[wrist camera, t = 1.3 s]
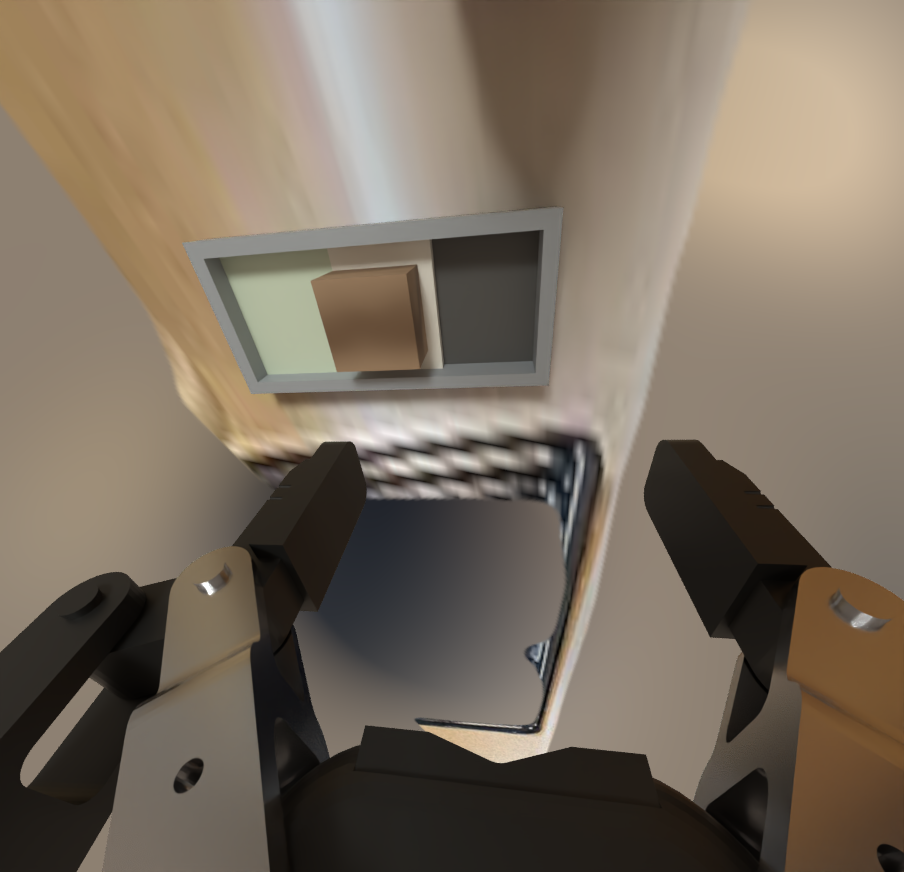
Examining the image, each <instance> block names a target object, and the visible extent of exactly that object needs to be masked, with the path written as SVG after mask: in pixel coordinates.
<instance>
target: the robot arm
mask: <svg viewBox="0 0 904 872" xmlns="http://www.w3.org/2000/svg"><path fill="white" fill-rule="evenodd" d="M366 494H367V489H366V482H365V478H364V475H363V472H362V468H361V465H360V461H359V458H358V454H357V451H356V447H355V445H354V444H353V443H352V442H323V443H322V444H321V445H320V447H319V448H318V449H317V451H316V452H315V454H314V455H313V456H312V458H311V459H310V460H305V461H303V462H302V463H300V464H299V465H298V466H296V467H295V468H294V469H292V470H291V471H290V472H289V473H288V474H287V476H286V477H285V478H284V479H283V481H282V482H281V483H280V485H279V488H277V489H276V490H275V491H274V493H273V494H272V495H271V496H270V500H267V501H266V503H265V504H264V505H263V507H262V508H261V509H260V511H259V512H258V513H257V515H256V516H255V517H254V518H253V520H252V521H251V522H250V524H249V525H248V526H247V527H246V529H245V530H244V531H243V533H242V534H241V535H240V536H239V538H238V539H237V540H236V542H235V543H234V544H233V546H229V547H223V548H219V549H217V550H214V551H211V552H209V553H207V554H205V555H203V556H201V557H200V558H198V559H197V560H195V561H194V562H192V563H191V564H190V565H189V566H188V567H186V568H185V569H184V571H183V572H182V573H181V574H180V575H179V576H178V577H177V578H175V579H171V580H167V581H163V582H159V583H154V584H150V585H146V586H142V587H139V586H138V585H137V584H136V583H135V582H134V581H133V580H132V579H131V578H130V577H129V576H128V575H126V574H124V573H122V572H113V573H112V572H111V573H106V574H102V575H99V576H96V577H94V578H91V579H89V580H87V581H85V582H83V583H81V584H79V585H77V586H75V587H74V588H72V589H71V590H69V591H68V592H66V593H65V594H64V595H62V596H61V597H59V598H58V599H57V600H56V601H55V602H53V603H52V604H51V605H50V606H49V607H48V608H47V609H46V610H45V611H44V612H43V613H41V614H40V615H39V616H38V617H37V618H36V619H35V620H34V621H33V622H32V623H31V624H30V625H29V626H28V627H27V628H26V629H25V630H24V631H22V633H20V634H19V635H18V636H17V637H16V638H15V639H14V640H13V641H12V642H11V643H10V644H9V645H8V646H7V647H6V648H4V649H3V650H2V651H1V652H0V872H77V870H78V868H79V867H80V865H81V863H82V861H83V860H84V858H85V856H86V855H87V853H88V851H89V850H90V848H91V846H92V845H93V843H94V841H95V840H96V838H97V836H98V834H99V833H100V831H101V829H102V828H103V826H104V824H105V823H106V821H107V819H108V817H109V816H110V814H111V813H112V816H111V823H110V828H109V834H108V840H107V847H106V852H105V858H104V864H103V870H102V872H904V601H903V600H902V599H901V598H899V597H898V596H897V595H895V594H894V593H892V592H891V591H889V590H887V589H886V588H884V587H883V586H881V585H879V584H877V583H875V582H873V581H871V580H869V579H867V578H865V577H862V576H860V575H857V574H854V573H851V572H848V571H845V570H840V569H836V568H832V567H831V566H830V565H829V564H828V563H827V562H826V561H825V560H824V558H822V556H821V555H819V553H818V552H817V551H816V550H815V549H814V548H813V547H812V546H811V545H810V543H809V542H808V541H807V540H806V539H805V538H804V537H803V536H802V535H801V534H800V533H799V532H798V531H797V529H796V528H795V527H794V526H793V525H792V524H791V523H790V522H789V521H788V520H787V519H786V518H785V517H784V516H783V515H782V513H781V512H780V511H779V510H778V509H774V505H773V504H772V503H771V502H770V501H769V500H768V498H767V497H766V496H765V495H761V493H760V490H759V489H758V488H757V487H756V486H755V484H754V483H753V482H752V481H751V480H750V479H749V478H748V477H747V476H746V475H745V474H744V473H742V472H740V471H739V470H737V469H736V468H734V467H733V466H731V465H729V464H728V463H726V462H724V461H723V460H716V459H715V458H714V457H713V456H712V454H711V453H710V452H709V451H708V450H707V449H706V448H705V446H704V445H703V444H702V443H701V442H700V441H698V440H662V441H660V442H659V443H658V445H657V448H656V451H655V454H654V457H653V461H652V464H651V467H650V470H649V474H648V477H647V480H646V484H645V488H644V501H645V506H646V509H647V511H648V514H649V516H650V518H651V520H652V522H653V524H654V526H655V528H656V530H657V532H658V533H659V536H660V538H661V540H662V541H663V543H664V546H665V548H666V549H667V552H668V554H669V556H670V557H671V560H672V562H673V564H674V566H675V568H676V569H677V572H678V574H679V576H680V578H681V580H682V582H683V584H684V586H685V588H686V590H687V592H688V594H689V596H690V598H691V600H692V602H693V604H694V606H695V608H696V610H697V612H698V614H699V616H700V618H701V620H702V622H703V624H704V626H705V628H706V630H707V632H708V634H709V636H710V637H713V638H714V637H715V638H729V639H736V641H737V643H738V645H739V646H740V648H741V650H742V652H741V654H740V655H739V656H738V658H737V660H736V664H735V668H734V672H733V676H732V680H731V685H730V689H729V693H728V697H727V701H726V705H725V709H724V713H723V717H722V721H721V725H720V729H719V733H718V738H717V741H716V745H715V748H714V751H713V753H712V756H711V758H710V760H709V762H708V763H707V765H706V767H705V769H704V771H703V774H702V776H701V779H700V781H699V784H698V787H697V790H696V793H695V796H694V800H693V801H691V800H690V799H688V798H687V797H685V796H684V795H683V794H681V793H680V792H678V791H676V790H675V789H673V788H671V787H670V786H668V785H666V784H664V783H663V782H661V781H659V780H657V779H654V778H652V775H651V771H650V767H649V764H648V760H647V757H646V755H644V754H635V753H625V752H616V751H606V750H596V749H587V748H577V747H569V748H565V749H561V750H557V751H553V752H548V753H544V754H540V755H536V756H532V757H528V758H524V759H520V760H516V761H511V762H507V763H495V762H492V761H490V760H487V759H485V758H483V757H481V756H479V755H477V754H475V753H473V752H470V751H468V750H466V749H464V748H462V747H460V746H458V745H456V744H453V743H451V742H449V741H447V740H445V739H443V738H441V737H438V736H436V735H434V734H432V733H430V732H423V731H413V730H404V729H395V728H385V727H375V726H365V729H364V733H363V737H362V741H361V745H359V746H355V747H352V748H350V749H347V750H345V751H342V752H340V753H338V754H336V755H334V756H333V757H331V758H330V757H329V752H328V748H327V745H326V741H325V738H324V735H323V732H322V730H321V727H320V725H319V722H318V720H317V718H316V715H315V712H314V709H313V706H312V702H311V697H310V693H309V688H308V684H307V679H306V674H305V670H304V665H303V660H302V656H301V651H300V646H299V642H298V637H297V632H296V629H295V626H294V625H293V623H294V621H295V619H296V617H297V615H298V613H299V611H315V612H317V611H318V610H319V608H320V605H321V603H322V601H323V598H324V596H325V594H326V592H327V589H328V587H329V585H330V582H331V580H332V578H333V575H334V573H335V571H336V569H337V566H338V564H339V562H340V559H341V557H342V555H343V553H344V550H345V548H346V546H347V543H348V541H349V539H350V537H351V534H352V532H353V530H354V527H355V525H356V523H357V520H358V518H359V516H360V514H361V511H362V509H363V507H364V504H365V501H366ZM89 677H90V678H91V679H93V680H94V681H96V682H97V683H99V684H100V685H101V686H103V687H104V689H103V690H102V691H101V693H100V694H99V695H98V697H97V698H96V699H95V701H94V702H93V703H92V704H91V706H90V707H89V708H88V710H87V711H86V712H85V714H84V715H83V717H82V718H81V719H80V720H79V722H78V723H77V724H76V725H75V727H74V728H73V729H72V731H71V732H70V733H69V735H68V736H67V737H66V739H65V740H64V741H63V743H62V744H61V745H60V747H59V748H58V749H57V750H56V752H55V753H54V754H53V756H52V757H51V758H50V760H49V761H48V762H47V764H46V765H45V766H44V768H43V769H42V770H41V771H40V773H39V774H38V775H37V777H36V778H35V779H34V780H33V782H32V783H31V784H30V785H29V786H28V787H27V788H26V787H25V786H23V785H22V783H21V781H20V772H21V768H22V765H23V762H24V760H25V758H26V757H27V755H28V753H29V752H30V750H31V749H32V747H33V746H34V745H35V744H36V742H37V741H38V740H39V739H40V737H41V736H42V735H43V734H44V733H45V731H46V730H47V729H48V728H49V726H50V725H51V724H52V723H53V721H54V720H55V719H56V718H57V716H58V715H59V714H60V713H61V711H62V710H63V709H64V708H65V707H66V705H67V704H68V703H69V702H70V700H71V699H72V698H73V697H74V696H75V694H76V693H77V692H78V691H79V689H80V688H81V687H82V686H83V684H84V683H85V682H86V681H87V679H88V678H89Z"/></svg>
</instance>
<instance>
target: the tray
mask: <svg viewBox="0 0 904 872" xmlns="http://www.w3.org/2000/svg"><path fill="white" fill-rule="evenodd" d="M563 208H564V207H558V206H555V207H544V208H534V209H523V210H512V211H502V212H491V213H481V214H470V215H459V216H449V217H438V218H427V219H417V220H406V221H395V222H385V223H374V224H363V225H353V226H342V227H332V228H321V229H310V230H300V231H289V232H278V233H268V234H257V235H246V236H236V237H225V238H215V239H206V240H199V241H192V242H185V243H182V244H183V246H184V248H185V250H186V252H187V255H188V257H189V259H190V261H191V263H192V265H193V268H194V270H195V272H196V274H197V276H198V278H199V281H200V283H201V285H202V287H203V289H204V292H205V294H206V296H207V298H208V300H209V302H210V305H211V307H212V309H213V311H214V313H215V316H216V318H217V320H218V322H219V324H220V326H221V329H222V331H223V333H224V335H225V337H226V339H227V342H228V344H229V346H230V348H231V350H232V353H233V355H234V357H235V359H236V361H237V363H238V366H239V368H240V370H241V372H242V374H243V377H244V379H245V381H246V383H247V385H248V387H249V390H250V392H251V394H261V393H297V392H333V391H369V390H404V389H440V388H476V387H512V386H548V385H549V375H550V363H551V351H552V339H553V327H554V315H555V303H556V291H557V279H558V267H559V255H560V243H561V232H562V220H563ZM416 264H417V266H418V274H419V282H420V290H421V298H422V306H423V314H424V322H425V330H426V338H427V346H428V352H427V354H426V357H425V359H424V361H423V363H422V366H421V368H420V369H413V370H385V371H357V372H337V371H336V367H335V364H334V360H333V357H332V353H331V350H330V347H329V343H328V340H327V336H326V333H325V329H324V326H323V323H322V319H321V316H320V312H319V309H318V305H317V302H316V298H315V295H314V292H313V288H312V285H311V280H314V279H316V278H318V277H320V276H322V275H325V274H327V273H329V272H331V271H337V270H350V269H363V268H377V267H390V266H403V265H416Z"/></svg>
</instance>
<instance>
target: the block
mask: <svg viewBox="0 0 904 872" xmlns="http://www.w3.org/2000/svg"><path fill="white" fill-rule="evenodd" d="M311 285H312V288H313V292H314V295H315V298H316V302H317V305H318V309H319V312H320V316H321V319H322V323H323V326H324V329H325V333H326V336H327V340H328V343H329V347H330V350H331V353H332V357H333V360H334V364H335V367H336V371H337V372H357V371H385V370H413V369H420V368H421V366H422V363H423V361H424V359H425V357H426V354H427V352H428V346H427V338H426V330H425V322H424V314H423V306H422V298H421V290H420V282H419V274H418V266H417V264H416V265H403V266H390V267H377V268H363V269H350V270H337V271H331V272H329V273H327V274H325V275H322V276H320V277H318V278H316V279H314V280H311Z"/></svg>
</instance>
